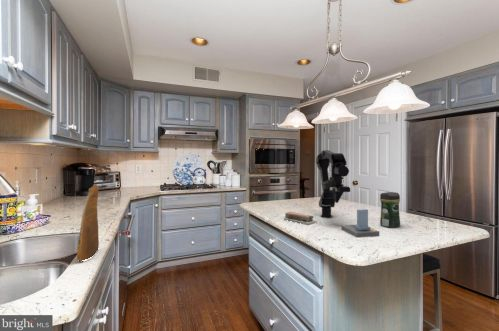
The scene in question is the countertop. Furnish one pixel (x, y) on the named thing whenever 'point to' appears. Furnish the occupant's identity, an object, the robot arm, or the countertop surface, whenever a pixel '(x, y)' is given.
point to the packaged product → (299, 218)
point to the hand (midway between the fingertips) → (336, 202)
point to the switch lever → (362, 220)
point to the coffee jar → (390, 209)
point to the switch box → (359, 231)
